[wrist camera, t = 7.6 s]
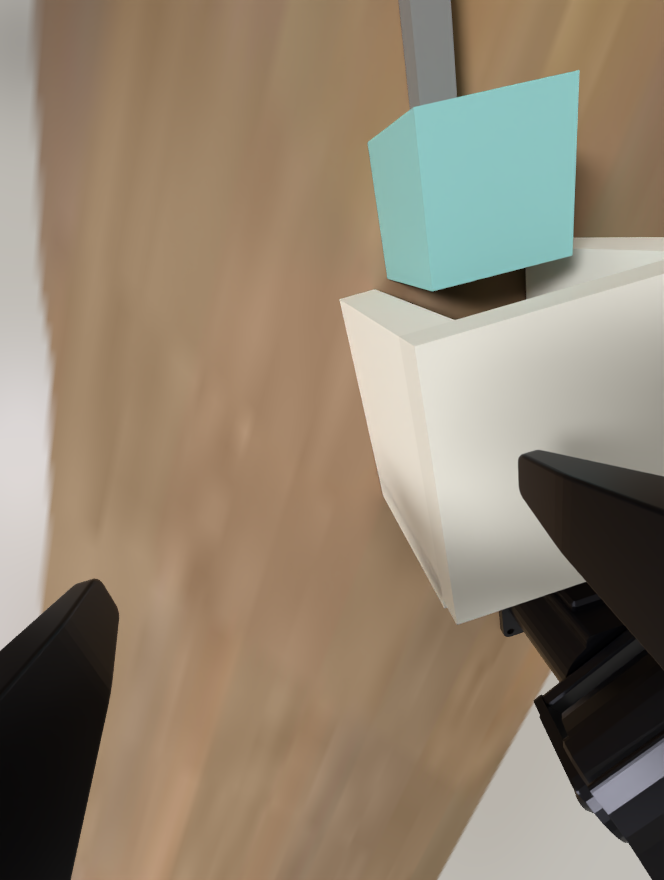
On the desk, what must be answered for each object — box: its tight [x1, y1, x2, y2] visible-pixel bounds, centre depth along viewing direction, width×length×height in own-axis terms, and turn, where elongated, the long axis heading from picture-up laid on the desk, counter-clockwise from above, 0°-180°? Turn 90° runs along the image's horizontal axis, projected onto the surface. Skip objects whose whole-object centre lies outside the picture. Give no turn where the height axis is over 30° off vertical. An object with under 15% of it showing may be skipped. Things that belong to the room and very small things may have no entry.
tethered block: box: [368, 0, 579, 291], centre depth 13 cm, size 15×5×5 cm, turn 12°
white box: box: [340, 237, 664, 625], centre depth 17 cm, size 10×10×9 cm
